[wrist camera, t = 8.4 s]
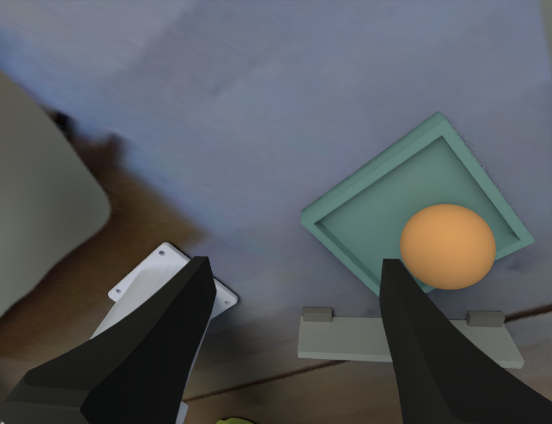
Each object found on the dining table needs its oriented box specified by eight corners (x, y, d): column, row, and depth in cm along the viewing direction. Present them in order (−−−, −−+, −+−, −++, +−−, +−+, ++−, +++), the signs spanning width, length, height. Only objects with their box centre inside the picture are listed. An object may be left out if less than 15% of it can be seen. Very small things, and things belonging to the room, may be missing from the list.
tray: (388, 294, 26) (391, 309, 25) (301, 210, 23) (300, 222, 22) (523, 227, 21) (535, 241, 20) (438, 111, 18) (446, 119, 17)
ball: (402, 270, 23) (467, 318, 19) (369, 240, 20) (438, 290, 16) (449, 214, 23) (525, 252, 19) (423, 176, 20) (506, 211, 16)
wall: (505, 311, 25) (529, 351, 22) (496, 336, 27) (517, 377, 24) (299, 307, 28) (296, 342, 25) (302, 330, 30) (299, 365, 27)
